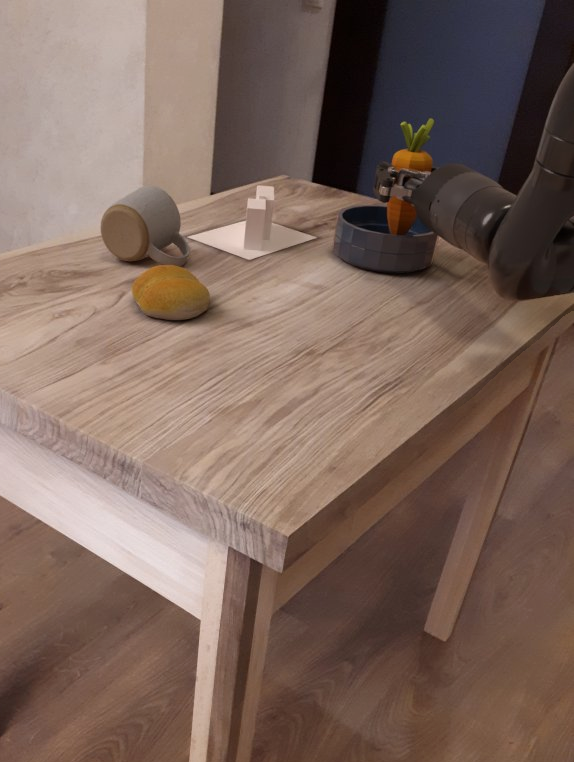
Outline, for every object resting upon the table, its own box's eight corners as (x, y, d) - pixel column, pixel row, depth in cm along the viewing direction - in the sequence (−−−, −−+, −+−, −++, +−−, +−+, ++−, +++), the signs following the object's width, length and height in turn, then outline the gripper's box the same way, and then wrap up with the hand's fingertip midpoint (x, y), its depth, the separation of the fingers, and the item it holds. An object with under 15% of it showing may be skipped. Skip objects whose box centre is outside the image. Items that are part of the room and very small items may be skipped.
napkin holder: (255, 217, 117) (259, 176, 113) (318, 237, 111) (324, 195, 108) (185, 237, 108) (188, 193, 104) (250, 260, 102) (254, 214, 98)
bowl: (386, 237, 113) (394, 201, 110) (453, 268, 104) (462, 230, 101) (312, 247, 107) (317, 209, 104) (375, 281, 98) (383, 241, 95)
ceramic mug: (95, 257, 99) (95, 193, 94) (129, 239, 105) (130, 179, 100) (170, 277, 96) (174, 212, 91) (200, 258, 102) (205, 196, 97)
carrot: (373, 245, 103) (396, 118, 94) (380, 235, 106) (404, 112, 98) (411, 251, 101) (439, 124, 93) (417, 241, 105) (444, 117, 96)
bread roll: (148, 326, 83) (149, 289, 81) (125, 294, 90) (125, 259, 88) (221, 319, 86) (224, 283, 84) (193, 288, 93) (195, 254, 90)
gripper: (532, 173, 87) (458, 139, 100) (411, 172, 84) (352, 137, 97) (512, 241, 91) (444, 200, 105) (397, 243, 88) (342, 200, 102)
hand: (400, 170), depth 101 cm, fingers closed on carrot, 5 cm apart
